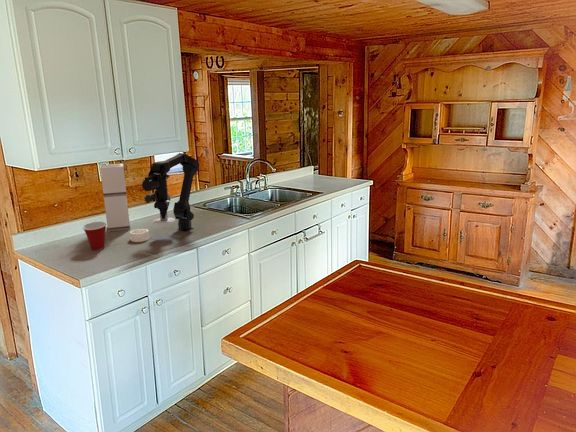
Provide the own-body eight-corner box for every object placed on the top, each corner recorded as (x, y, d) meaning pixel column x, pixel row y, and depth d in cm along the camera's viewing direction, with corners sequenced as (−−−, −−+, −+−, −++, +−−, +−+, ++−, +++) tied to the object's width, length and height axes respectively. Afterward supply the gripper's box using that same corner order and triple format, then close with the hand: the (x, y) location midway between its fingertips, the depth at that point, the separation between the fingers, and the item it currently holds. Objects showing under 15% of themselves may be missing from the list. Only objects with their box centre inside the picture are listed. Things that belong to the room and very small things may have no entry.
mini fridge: (129, 224, 254) (123, 163, 245) (130, 229, 244) (123, 166, 235) (108, 226, 250) (100, 165, 241) (108, 231, 240) (100, 167, 231)
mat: (167, 233, 235) (167, 233, 235) (181, 237, 229) (181, 236, 229) (150, 239, 226) (150, 238, 226) (164, 242, 220) (164, 242, 220)
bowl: (142, 236, 232) (141, 227, 230) (153, 238, 227) (152, 230, 225) (127, 240, 225) (126, 232, 223) (138, 243, 219) (137, 234, 218)
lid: (165, 217, 233) (164, 208, 231) (179, 220, 226) (179, 210, 225) (148, 222, 224) (147, 212, 223) (162, 225, 218) (161, 215, 216)
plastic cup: (80, 250, 211) (76, 226, 208) (98, 243, 220) (95, 220, 217) (95, 253, 206) (92, 228, 203) (114, 246, 215) (111, 223, 212)
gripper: (147, 184, 228) (149, 214, 232) (141, 192, 211) (144, 223, 215) (169, 184, 230) (171, 213, 234) (165, 190, 212) (168, 222, 216)
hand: (163, 217), depth 225 cm, fingers closed on lid, 4 cm apart
